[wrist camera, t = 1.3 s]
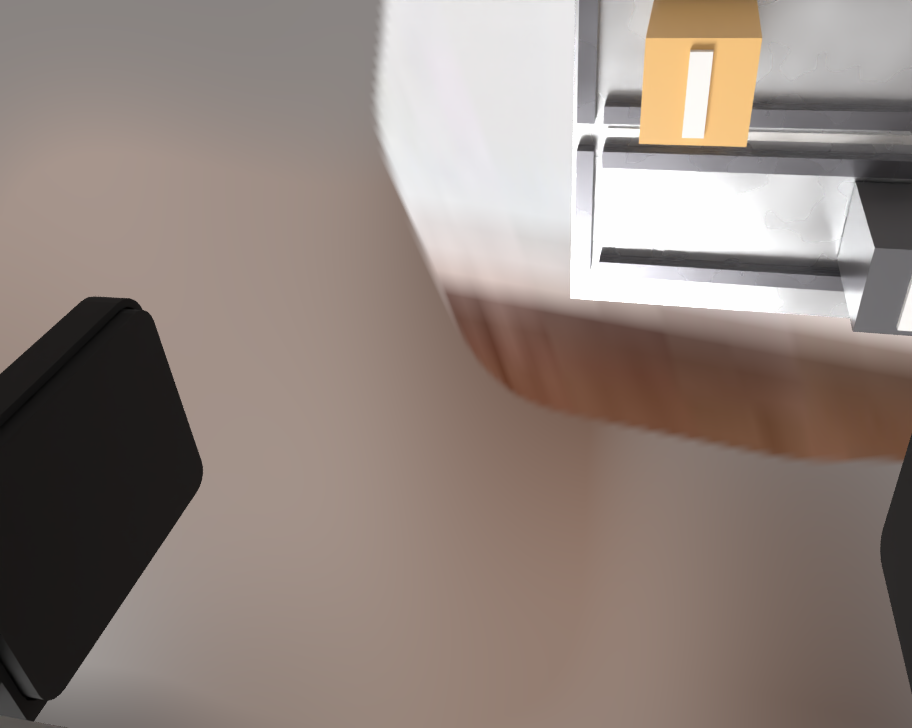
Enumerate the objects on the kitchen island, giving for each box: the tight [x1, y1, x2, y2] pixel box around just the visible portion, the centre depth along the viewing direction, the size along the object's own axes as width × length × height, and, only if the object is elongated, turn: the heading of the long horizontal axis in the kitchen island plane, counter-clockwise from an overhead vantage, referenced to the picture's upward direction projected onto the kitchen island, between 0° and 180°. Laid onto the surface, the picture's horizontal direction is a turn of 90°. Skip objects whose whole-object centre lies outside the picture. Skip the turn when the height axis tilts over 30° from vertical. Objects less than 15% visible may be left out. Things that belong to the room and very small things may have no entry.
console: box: [571, 0, 912, 318], centre depth 28 cm, size 14×16×3 cm
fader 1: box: [639, 0, 762, 147], centre depth 25 cm, size 3×3×5 cm
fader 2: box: [837, 182, 912, 336], centre depth 27 cm, size 3×3×5 cm
